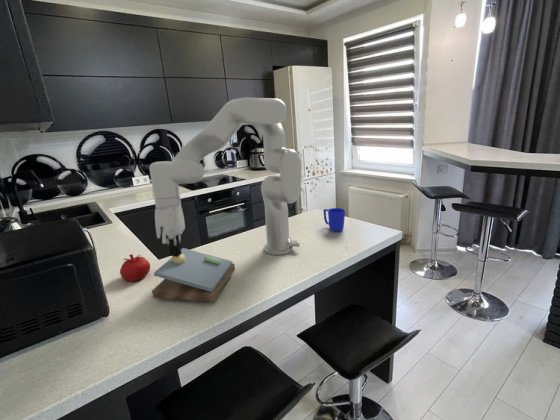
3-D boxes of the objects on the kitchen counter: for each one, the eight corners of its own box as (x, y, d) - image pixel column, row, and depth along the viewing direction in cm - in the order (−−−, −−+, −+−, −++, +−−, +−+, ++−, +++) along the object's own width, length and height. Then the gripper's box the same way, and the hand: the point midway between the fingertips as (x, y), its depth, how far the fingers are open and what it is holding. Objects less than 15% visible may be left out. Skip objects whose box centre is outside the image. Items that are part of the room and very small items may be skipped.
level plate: (232, 264, 104) (233, 256, 103) (212, 292, 88) (213, 283, 86) (182, 250, 107) (183, 243, 105) (154, 275, 90) (154, 266, 89)
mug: (329, 224, 152) (329, 205, 149) (348, 229, 143) (348, 210, 140) (318, 228, 147) (318, 209, 144) (337, 234, 138) (337, 214, 135)
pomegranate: (157, 273, 110) (153, 251, 107) (133, 286, 101) (129, 262, 98) (138, 268, 114) (135, 246, 111) (115, 280, 105) (110, 257, 103)
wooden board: (235, 273, 106) (234, 263, 105) (214, 306, 88) (212, 294, 87) (184, 270, 110) (183, 261, 109) (153, 301, 91) (151, 290, 90)
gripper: (169, 195, 99) (177, 245, 104) (142, 207, 85) (152, 264, 90) (190, 195, 98) (196, 246, 103) (165, 208, 84) (174, 266, 89)
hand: (176, 254), depth 97 cm, fingers closed
